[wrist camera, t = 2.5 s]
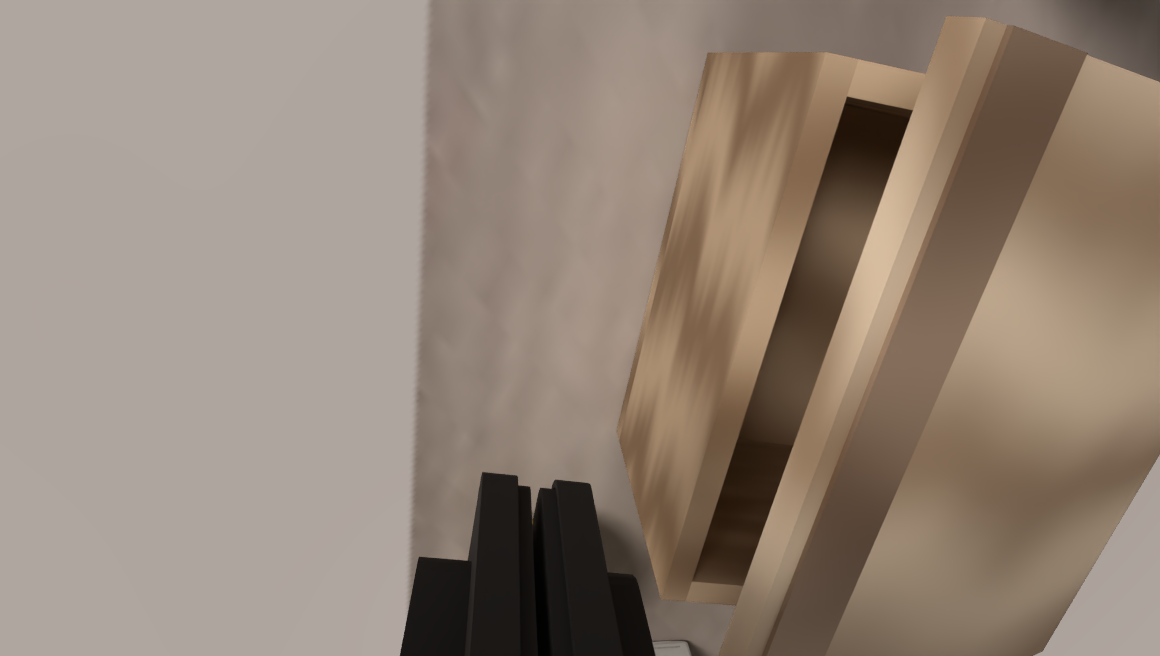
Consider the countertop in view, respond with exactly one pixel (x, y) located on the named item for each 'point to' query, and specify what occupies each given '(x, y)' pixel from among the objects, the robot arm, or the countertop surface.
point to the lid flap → (977, 369)
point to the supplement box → (671, 648)
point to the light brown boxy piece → (750, 297)
